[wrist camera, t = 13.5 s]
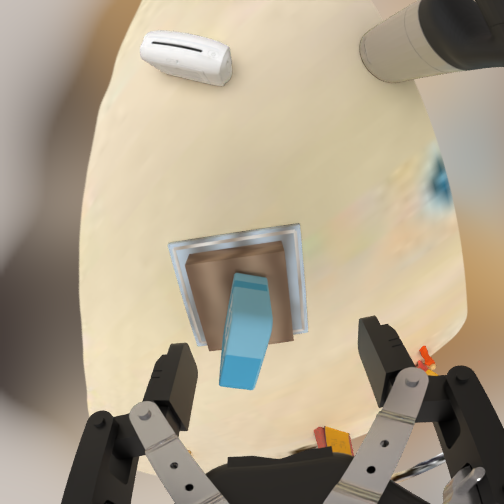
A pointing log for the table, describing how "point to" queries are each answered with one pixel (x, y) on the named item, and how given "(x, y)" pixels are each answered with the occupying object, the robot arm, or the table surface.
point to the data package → (245, 332)
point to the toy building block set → (342, 439)
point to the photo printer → (188, 56)
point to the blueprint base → (245, 262)
